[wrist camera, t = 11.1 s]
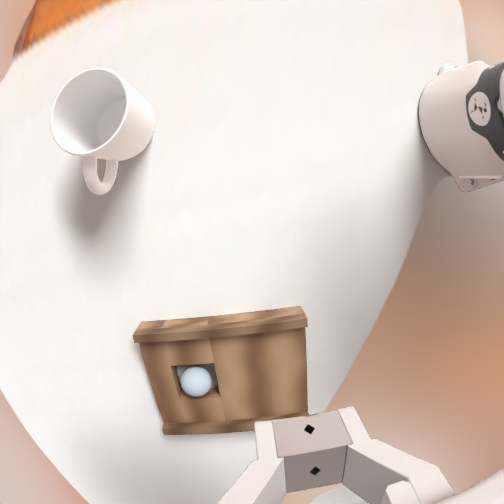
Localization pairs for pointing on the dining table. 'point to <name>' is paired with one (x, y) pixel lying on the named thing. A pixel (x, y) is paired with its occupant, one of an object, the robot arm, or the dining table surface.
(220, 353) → the wooden tray
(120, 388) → the dining table surface
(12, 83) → the dining table surface
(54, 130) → the mug
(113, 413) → the dining table surface
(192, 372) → the ball
